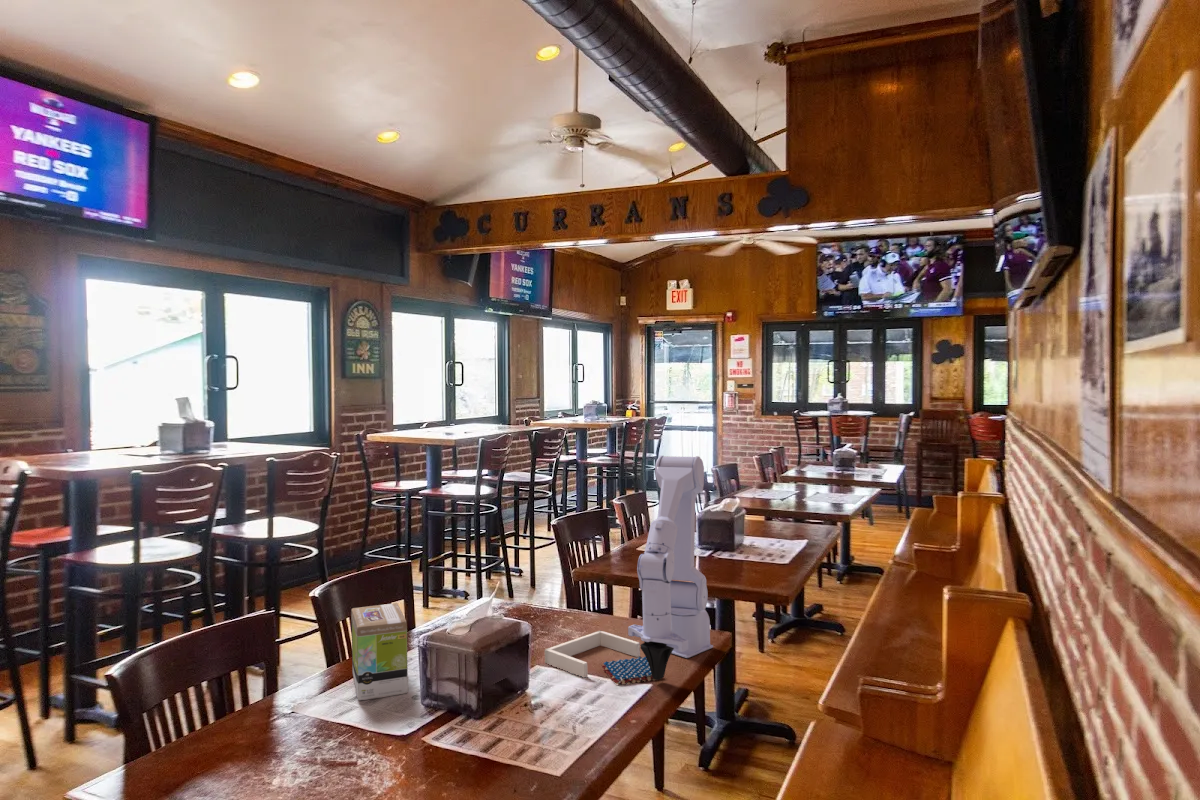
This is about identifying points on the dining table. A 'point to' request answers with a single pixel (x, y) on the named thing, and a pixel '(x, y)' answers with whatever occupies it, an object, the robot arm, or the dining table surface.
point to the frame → (563, 652)
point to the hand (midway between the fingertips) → (658, 677)
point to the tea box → (379, 651)
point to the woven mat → (628, 670)
